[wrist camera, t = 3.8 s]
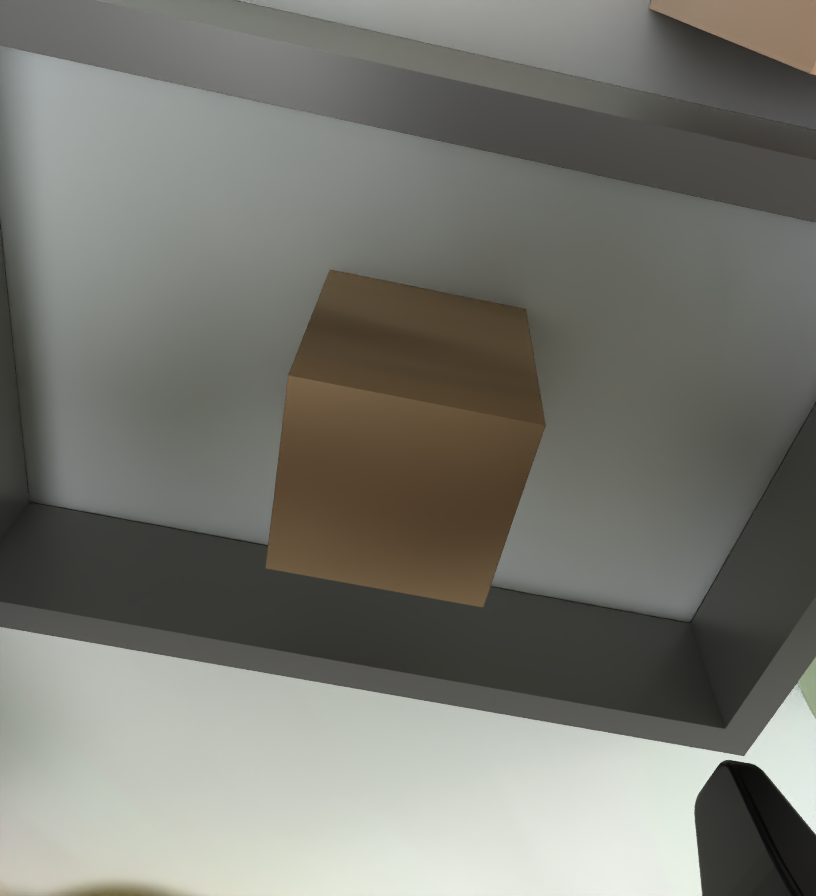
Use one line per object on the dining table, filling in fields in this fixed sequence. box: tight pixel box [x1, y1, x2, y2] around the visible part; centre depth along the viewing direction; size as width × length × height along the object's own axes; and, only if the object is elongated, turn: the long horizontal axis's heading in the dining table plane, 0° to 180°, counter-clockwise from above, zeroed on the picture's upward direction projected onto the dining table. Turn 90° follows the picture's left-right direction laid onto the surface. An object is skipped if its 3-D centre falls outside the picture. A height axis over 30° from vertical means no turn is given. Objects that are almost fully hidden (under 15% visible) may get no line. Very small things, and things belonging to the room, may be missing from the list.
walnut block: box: [266, 270, 546, 607], centre depth 15 cm, size 4×4×4 cm
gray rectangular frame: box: [0, 0, 816, 756], centre depth 15 cm, size 13×19×3 cm
